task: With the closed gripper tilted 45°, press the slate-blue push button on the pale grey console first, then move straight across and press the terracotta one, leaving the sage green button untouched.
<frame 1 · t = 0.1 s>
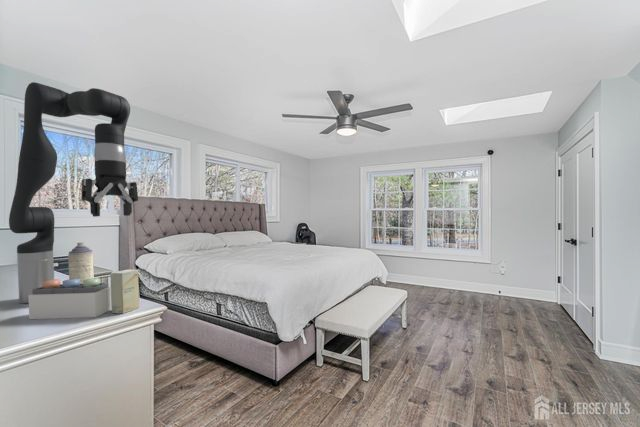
hand: (112, 216, 86), 29 cm above the table, tool pointing down, fingers open, 8 cm apart
button console: (72, 313, 88), on the table
slate blue button: (71, 283, 88), point 9 cm above the table, slide at 0.0 cm
terracotta button: (51, 284, 88), point 9 cm above the table, slide at 0.0 cm
sage button: (91, 282, 88), point 9 cm above the table, slide at 0.0 cm
skincare box: (125, 310, 90), on the table
aerosol can: (82, 298, 105), on the table
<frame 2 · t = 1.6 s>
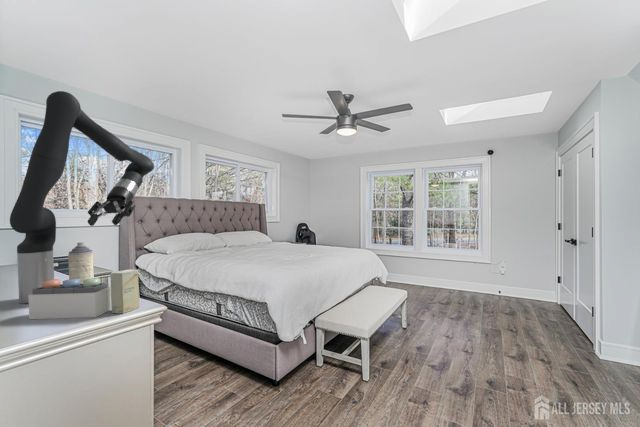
hand: (102, 223, 102), 27 cm above the table, tool tilted 45°, fingers open, 8 cm apart
nothing on the table moved.
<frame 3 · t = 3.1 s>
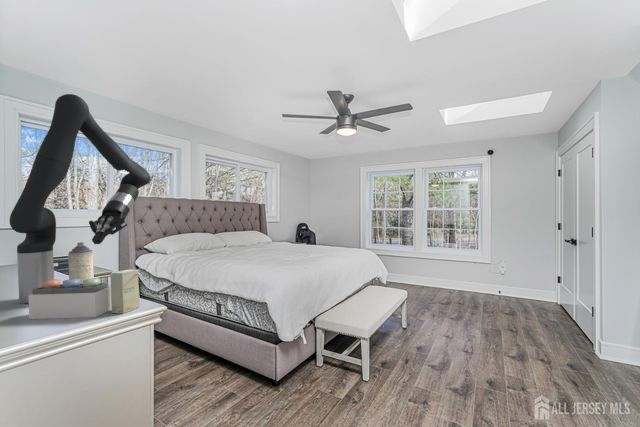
hand: (95, 242, 98), 20 cm above the table, tool tilted 45°, fingers closed
nothing on the table moved.
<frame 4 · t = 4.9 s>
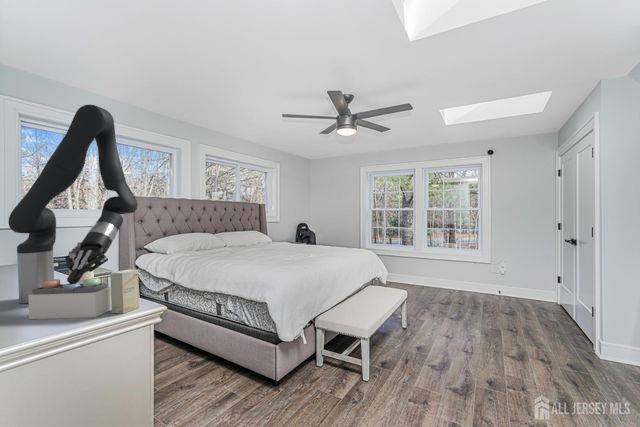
hand: (71, 282, 88), 10 cm above the table, tool tilted 45°, fingers closed
slate blue button: (71, 287, 88), point 8 cm above the table, slide at 1.2 cm, touching gripper
everything else where it was.
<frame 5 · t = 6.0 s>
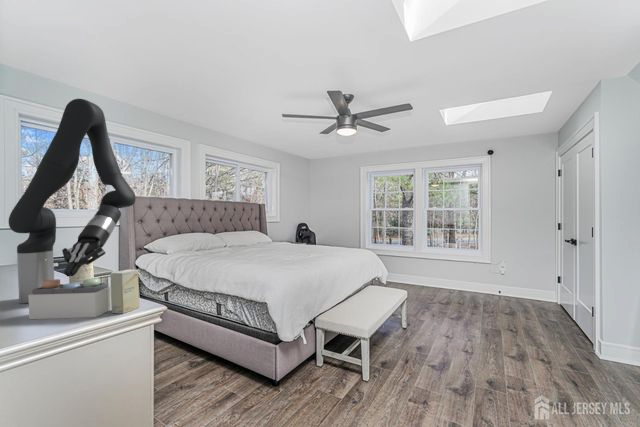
hand: (68, 274, 88), 12 cm above the table, tool tilted 45°, fingers closed
slate blue button: (71, 287, 88), point 8 cm above the table, slide at 1.2 cm
everything else where it was.
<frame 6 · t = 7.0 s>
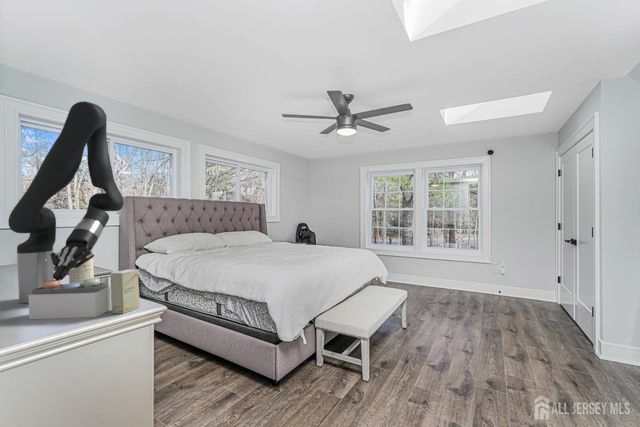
hand: (57, 278, 88), 11 cm above the table, tool tilted 45°, fingers closed
terracotta button: (51, 284, 88), point 9 cm above the table, slide at 0.1 cm, touching gripper
everything else where it was.
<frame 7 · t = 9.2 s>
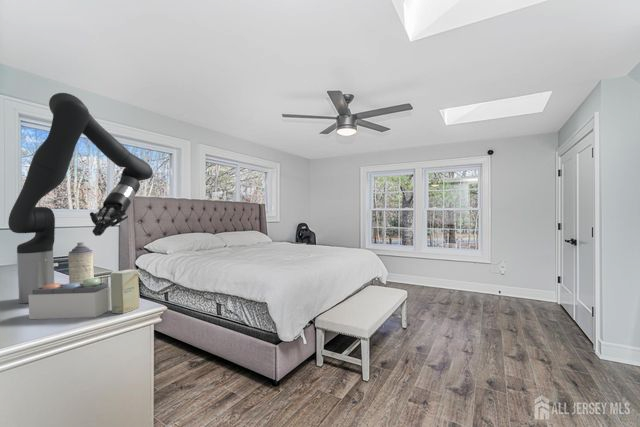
hand: (96, 234, 98), 23 cm above the table, tool tilted 45°, fingers closed
terracotta button: (51, 288, 88), point 8 cm above the table, slide at 1.2 cm
everything else where it was.
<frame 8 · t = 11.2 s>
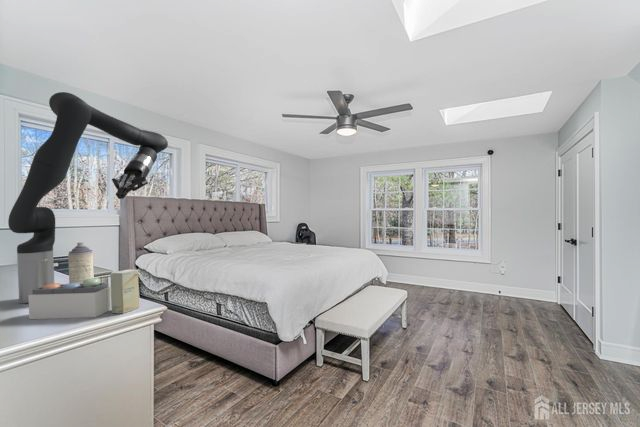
hand: (119, 197, 103), 36 cm above the table, tool tilted 45°, fingers closed
nothing on the table moved.
at the end: slate blue button slide at 1.2 cm; terracotta button slide at 1.2 cm; sage button slide at 0.0 cm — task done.
